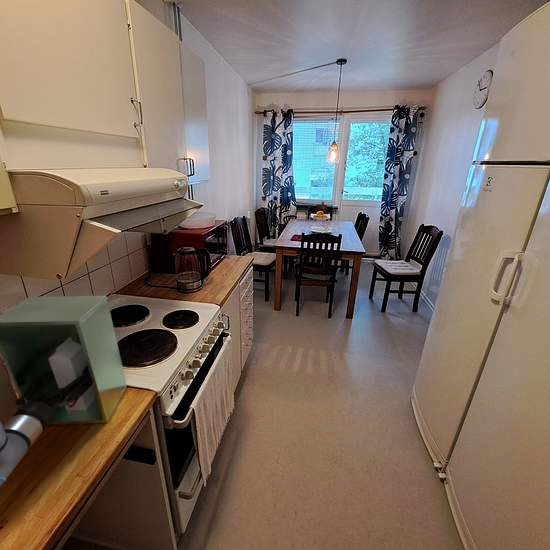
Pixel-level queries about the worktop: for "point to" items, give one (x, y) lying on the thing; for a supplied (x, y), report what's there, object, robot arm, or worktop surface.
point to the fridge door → (6, 396)
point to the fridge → (51, 334)
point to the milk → (71, 370)
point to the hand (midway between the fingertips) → (81, 361)
